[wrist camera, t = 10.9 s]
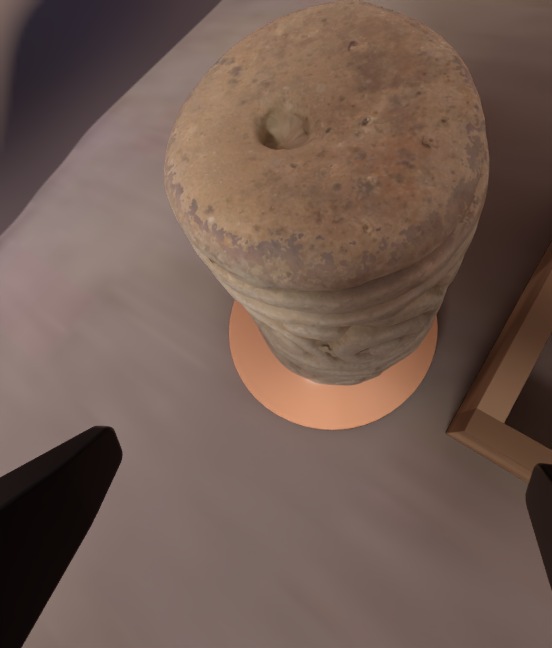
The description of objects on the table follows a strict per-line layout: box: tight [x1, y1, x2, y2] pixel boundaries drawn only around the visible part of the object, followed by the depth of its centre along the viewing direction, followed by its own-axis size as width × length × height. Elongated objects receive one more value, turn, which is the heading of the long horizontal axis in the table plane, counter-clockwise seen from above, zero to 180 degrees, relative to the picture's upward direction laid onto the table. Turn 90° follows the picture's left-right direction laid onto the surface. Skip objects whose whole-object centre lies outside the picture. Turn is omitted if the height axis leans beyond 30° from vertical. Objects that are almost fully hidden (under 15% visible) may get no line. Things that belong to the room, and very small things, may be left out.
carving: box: [164, 0, 489, 386], centre depth 12 cm, size 6×8×12 cm
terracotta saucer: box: [229, 299, 438, 430], centre depth 18 cm, size 10×10×2 cm
